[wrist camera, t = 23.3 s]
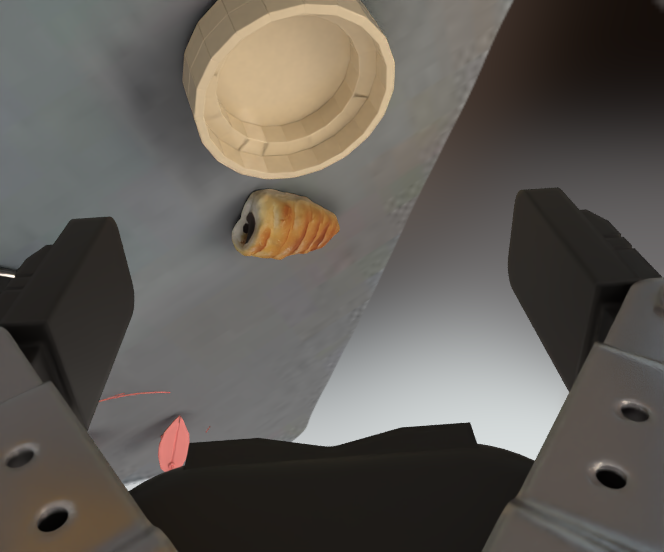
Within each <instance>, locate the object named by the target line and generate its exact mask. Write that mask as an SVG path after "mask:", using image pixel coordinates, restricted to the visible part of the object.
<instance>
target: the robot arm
mask: <svg viewBox="0 0 664 552" xmlns="http://www.w3.org/2000/svg"><path fill="white" fill-rule="evenodd" d="M508 274H509V280H510V284H511V287H512V289H513V291H514V293H515V295H516V296H517V298H518V300H519V302H520V304H521V306H522V307H523V309H524V311H525V313H526V315H527V317H528V318H529V320H530V322H531V324H532V326H533V327H534V329H535V331H536V333H537V335H538V336H539V338H540V340H541V342H542V344H543V346H544V347H545V349H546V351H547V353H548V355H549V356H550V358H551V360H552V362H553V364H554V365H555V367H556V369H557V371H558V373H559V374H560V376H561V378H562V380H563V382H564V384H565V385H566V387H567V389H568V391H569V394H568V396H567V398H566V400H565V402H564V404H563V406H562V408H561V410H560V412H559V414H558V416H557V418H556V420H555V422H554V424H553V426H552V428H551V430H550V432H549V434H548V436H547V438H546V440H545V442H544V444H543V446H542V448H541V450H540V452H539V454H538V456H537V458H536V460H535V461H534V460H532V459H529V458H527V457H525V456H522V455H520V454H517V453H514V452H511V451H508V450H505V449H501V448H497V447H493V446H488V445H483V444H477V442H476V439H475V436H474V433H473V430H472V427H471V424H470V423H456V424H443V425H429V426H416V427H402V428H398V429H394V430H391V431H387V432H384V433H380V434H377V435H373V436H370V437H366V438H363V439H359V440H356V441H352V442H348V443H345V444H341V445H338V446H333V447H332V446H331V447H325V446H317V445H309V444H300V443H293V442H286V441H278V440H270V439H262V438H252V439H238V440H225V441H211V442H197V443H189V447H188V452H187V457H186V462H185V465H184V466H181V467H178V468H175V469H172V470H169V471H167V472H164V473H162V474H159V475H157V476H155V477H153V478H151V479H149V480H147V481H145V482H143V483H141V484H140V485H138V486H137V487H135V488H133V489H132V490H130V491H128V490H127V489H126V488H125V486H124V485H123V483H122V482H121V480H120V479H119V477H118V476H117V474H116V473H115V472H114V470H113V469H112V467H111V466H110V464H109V463H108V462H107V460H106V459H105V457H104V456H103V454H102V453H101V451H100V450H99V449H98V447H97V446H96V444H95V443H94V441H93V440H92V438H91V437H90V436H89V434H88V433H87V431H88V428H89V425H90V423H91V420H92V418H93V415H94V413H95V410H96V407H97V405H98V402H99V400H100V397H101V394H102V392H103V389H104V387H105V384H106V382H107V379H108V376H109V374H110V371H111V369H112V366H113V363H114V361H115V358H116V356H117V353H118V351H119V348H120V345H121V343H122V340H123V338H124V335H125V332H126V330H127V327H128V325H129V322H130V320H131V317H132V314H133V310H134V289H133V284H132V280H131V276H130V272H129V268H128V265H127V261H126V257H125V253H124V249H123V245H122V242H121V238H120V234H119V230H118V227H117V224H116V222H115V221H114V219H113V218H112V217H97V218H82V219H72V220H70V221H69V223H68V224H67V226H66V227H65V228H64V230H63V231H62V233H61V234H60V236H59V237H58V239H57V240H56V241H55V243H54V244H53V245H46V246H44V247H43V248H42V249H40V250H39V251H37V252H36V253H34V254H33V255H31V256H30V257H28V258H27V259H26V260H25V261H24V262H23V264H22V265H21V266H20V268H19V269H18V271H17V270H12V269H7V268H0V552H664V278H663V277H662V276H661V275H660V274H659V273H658V272H657V271H656V270H655V269H654V268H653V267H652V266H651V265H650V264H649V263H648V262H647V261H646V260H645V259H644V258H643V257H642V256H641V255H640V254H639V252H638V251H637V250H636V249H635V248H632V245H631V244H630V243H629V242H628V241H627V240H626V239H625V238H624V237H621V234H620V233H619V232H618V231H617V230H616V229H615V227H614V226H613V225H612V224H611V223H610V222H609V221H608V220H605V219H603V218H601V217H600V216H598V215H596V214H594V213H592V212H590V211H588V210H579V209H578V208H577V207H576V206H575V204H574V203H573V202H572V201H571V200H570V199H569V198H568V197H567V195H566V194H565V193H564V192H563V191H562V190H561V189H560V188H544V189H530V190H529V189H528V190H520V191H519V192H518V194H517V196H516V199H515V205H514V213H513V222H512V230H511V239H510V247H509V255H508Z"/></svg>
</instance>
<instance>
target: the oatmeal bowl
mask: <svg viewBox="0 0 664 552" xmlns="http://www.w3.org/2000/svg"><path fill="white" fill-rule="evenodd" d="M394 74H395V61H394V58H393V55H392V53H391V50H390V47H389V44H388V41H387V39H386V37H385V35H384V34H383V32H382V31H381V29H380V28H379V26H378V25H377V23H376V22H375V20H374V19H373V17H372V16H371V14H370V13H369V11H368V10H367V8H366V7H365V5H364V4H363V3H362V2H361V1H360V0H217V2H216V3H215V4H214V5H213V6H212V7H211V8H210V9H209V10H208V12H207V13H206V14H205V15H204V16H203V17H202V18H201V19H200V20H199V22H198V23H197V25H196V27H195V29H194V32H193V34H192V36H191V38H190V41H189V43H188V45H187V48H186V50H185V53H184V64H183V79H182V82H183V86H184V89H185V92H186V95H187V98H188V101H189V105H190V108H191V111H192V114H193V117H194V120H195V123H196V126H197V129H198V133H199V136H200V139H201V141H202V143H203V144H204V146H205V147H206V148H207V149H208V150H209V152H210V153H211V154H212V155H213V156H214V157H215V159H216V160H217V161H218V162H220V163H222V164H223V165H225V166H227V167H229V168H231V169H232V170H234V171H236V172H238V173H240V174H243V175H248V176H253V177H258V178H262V179H281V178H294V177H298V176H302V175H305V174H308V173H312V172H315V171H319V170H321V169H324V168H325V167H327V166H329V165H331V164H333V163H335V162H336V161H338V160H340V159H342V158H344V157H346V156H347V155H348V154H349V153H350V152H352V151H353V150H354V149H355V148H356V147H357V146H358V145H360V144H361V143H362V142H363V141H364V140H365V139H367V138H368V137H369V135H370V134H371V133H372V131H373V130H374V128H375V127H376V126H377V124H378V123H379V121H380V120H381V119H382V117H383V116H384V114H385V112H386V109H387V106H388V104H389V101H390V98H391V96H392V93H393V90H394Z"/></svg>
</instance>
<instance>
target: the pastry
mask: <svg viewBox="0 0 664 552" xmlns="http://www.w3.org/2000/svg"><path fill="white" fill-rule="evenodd" d="M339 229H340V227H339V224H338V221H337V218H336V215H335V214H334V213H332V212H330V211H328V210H327V209H324V208H322V207H321V206H320V205H318V204H315V203H313V202H312V201H311V200H309V199H308V198H307V197H305V196H301V197H300V196H299V195H296V194H292V193H288V192H285V193H284V192H279V191H278V190H273V189H265V190H259V191H256V192H253V193H252V194H251V195H250V197H249V198H248V200H247V202H246V203H245V205H244V208H243V211H242V214H241V218H240V220H239V221H238V222H237V223H236V225H235V227H234V228H233V230H232V241H233V244H234V246H235V248H236V250H237V251H238V252H240V253H241V254H242V255H244V256H251V255H252V256H255V257H261V258H274V259H278V260H281V259H283V258H284V257H286V256H289V255H294V254H297V253H301V254H304V253H308V252H309V251H313V250H316V249H319V248H322V247H323V246H325V245H326V243H327V242H328V241H329V240H330V239H331V238H332V237H333V236H334V235H335V234H337V233H338V232H339Z"/></svg>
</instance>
